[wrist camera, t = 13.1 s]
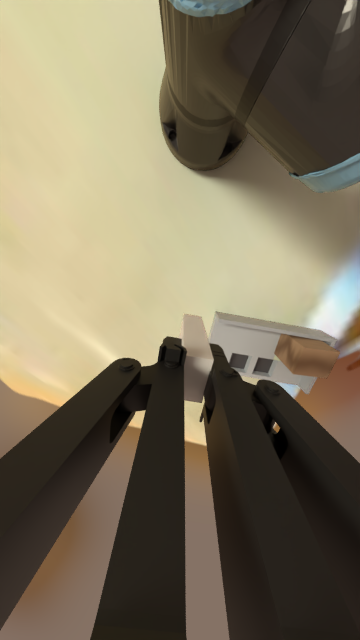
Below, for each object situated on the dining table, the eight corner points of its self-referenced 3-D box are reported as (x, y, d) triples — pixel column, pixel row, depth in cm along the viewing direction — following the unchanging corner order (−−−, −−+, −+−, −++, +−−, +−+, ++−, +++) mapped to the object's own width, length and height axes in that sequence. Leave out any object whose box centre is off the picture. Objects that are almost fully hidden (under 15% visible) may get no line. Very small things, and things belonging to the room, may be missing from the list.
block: (282, 330, 41) (304, 347, 34) (311, 334, 42) (340, 352, 34) (273, 353, 43) (293, 374, 36) (302, 357, 44) (327, 378, 36)
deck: (215, 311, 42) (219, 318, 37) (320, 330, 43) (337, 339, 39) (201, 364, 47) (203, 377, 42) (296, 380, 48) (308, 394, 44)
